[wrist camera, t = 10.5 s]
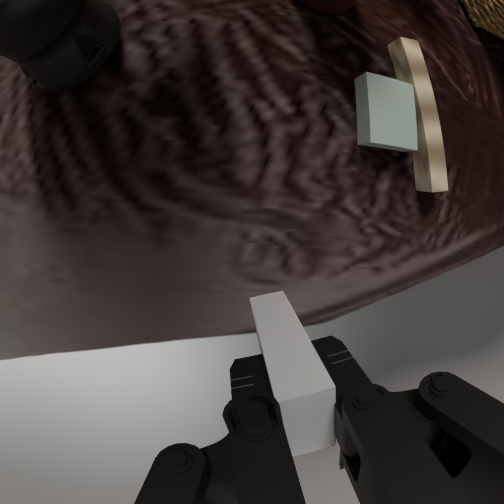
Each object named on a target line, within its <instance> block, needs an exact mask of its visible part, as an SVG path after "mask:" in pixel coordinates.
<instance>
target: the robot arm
mask: <svg viewBox="0 0 504 504" xmlns="http://www.w3.org/2000/svg"><path fill="white" fill-rule="evenodd" d="M120 29H121V24H120V19H119V16H118V14H117V13H116V11H115V10H114V8H113V7H112V6H111V5H110V4H109V3H108V2H106V1H104V0H0V55H2V56H4V57H6V58H8V59H10V60H13V61H15V62H16V63H18V65H19V66H20V68H21V69H22V71H23V72H24V74H25V75H26V77H27V78H28V80H29V81H30V82H31V83H32V84H33V85H34V86H36V87H37V88H40V89H42V90H44V91H47V92H61V91H65V90H68V89H71V88H73V87H75V86H77V85H79V84H80V83H82V82H84V81H85V80H86V79H88V78H89V77H90V76H91V75H93V74H94V73H95V72H96V71H97V70H98V69H99V68H100V67H101V66H102V65H103V64H104V62H105V61H106V60H107V59H108V57H109V56H110V54H111V53H112V51H113V49H114V48H115V46H116V43H117V41H118V38H119V35H120ZM250 303H251V308H252V312H253V317H254V322H255V326H256V331H257V336H258V340H259V344H260V349H261V354H259V355H254V356H250V357H245V358H240V359H235V360H234V362H233V364H232V366H231V368H230V379H231V394H232V400H231V401H229V403H228V404H227V405H226V406H225V408H224V411H223V418H224V420H225V423H226V425H227V428H228V430H229V433H228V435H227V436H226V437H224V438H223V439H222V440H220V441H218V442H217V443H215V444H212V445H209V446H206V447H204V448H201V449H199V448H198V447H196V446H195V445H191V444H187V443H177V444H174V445H171V446H168V447H166V448H165V449H163V450H162V451H161V452H160V453H159V454H158V455H157V457H156V458H155V460H154V462H153V464H152V466H151V469H150V471H149V473H148V475H147V477H146V479H145V481H144V484H143V486H142V488H141V490H140V492H139V494H138V497H137V499H136V501H135V503H134V504H306V503H305V499H304V496H303V493H302V489H301V486H300V482H299V478H298V475H297V471H296V468H295V464H294V461H293V457H294V456H298V455H302V454H306V453H310V452H313V451H317V450H320V449H324V448H327V447H330V446H334V445H335V441H336V439H337V441H338V443H339V445H340V462H339V465H340V469H343V468H344V467H345V469H346V471H347V474H348V476H349V479H350V481H351V483H352V486H353V488H354V490H355V493H356V495H357V497H358V500H359V502H360V504H504V404H503V403H502V402H500V401H499V400H497V399H495V398H493V397H492V396H490V395H488V394H487V393H485V392H483V391H481V390H480V389H478V388H476V387H474V386H473V385H471V384H469V383H468V382H466V381H464V380H462V379H461V378H459V377H457V376H456V375H453V374H451V373H448V372H435V373H431V374H429V375H427V376H426V377H424V378H423V380H422V381H421V382H420V385H419V388H418V389H413V390H407V391H401V392H389V391H388V390H386V389H385V388H384V387H382V386H380V385H377V384H372V383H371V382H370V380H369V378H368V377H367V376H366V374H365V373H364V371H363V370H362V369H361V367H360V366H359V365H358V363H357V362H356V360H355V359H354V358H353V357H352V355H351V354H350V352H349V351H348V350H347V348H346V346H345V345H344V344H343V342H342V341H340V340H338V339H337V338H335V337H333V336H328V337H324V338H320V339H317V340H313V341H310V339H309V337H308V335H307V334H306V332H305V330H304V328H303V326H302V324H301V323H300V321H299V319H298V317H297V315H296V314H295V312H294V310H293V308H292V306H291V305H290V303H289V301H288V299H287V297H286V296H285V294H284V292H283V291H279V292H274V293H270V294H265V295H260V296H256V297H251V298H250Z"/></svg>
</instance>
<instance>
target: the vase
mask: <svg viewBox="0 0 504 504" xmlns="http://www.w3.org/2000/svg"><path fill="white" fill-rule="evenodd" d="M294 1H295V2H296V3H297V4H299V5H300V6H302V7H303V8H305V9H307V10H309V11H311V12H314V13H317V14H321V15H326V16H338V15H342V14H344V13H346V12H347V11H348V10H349V9H350V8H351V7H352V6H353V5H354V4H355V3H356V2H357V1H358V0H294Z"/></svg>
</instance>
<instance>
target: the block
mask: <svg viewBox="0 0 504 504" xmlns="http://www.w3.org/2000/svg"><path fill="white" fill-rule="evenodd" d="M354 81H355V94H356V110H357V134H358V145H362V146H370V147H377V148H384V149H390V150H397V151H402V152H405V151H417V150H418V144H417V123H416V109H415V99H414V89H413V85H412V84H409V83H406V82H402V81H399V80H396V79H392V78H389V77H385V76H381V75H378V74H374V73H370V72H365V73H363V74H362V75H360V76H359V77H357V78H356V79H354Z"/></svg>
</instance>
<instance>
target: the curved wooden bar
mask: <svg viewBox="0 0 504 504" xmlns="http://www.w3.org/2000/svg"><path fill="white" fill-rule="evenodd" d="M387 46H388V50H389V53H390V56H391V59H392V63H393V66H394V69H395V73H396V77H397V80H399V81H402V82H406V83H409V84H412V85H413V89H414V99H415V109H416V123H417V144H418V150H417V151H412V158H413V165H414V174H415V184H416V190H417V191H425V192H440V191H448V183H447V172H446V162H445V154H444V147H443V140H442V134H441V128H440V122H439V117H438V112H437V107H436V103H435V98H434V94H433V90H432V86H431V82H430V79H429V75H428V71H427V68H426V65H425V61H424V58H423V55H422V52H421V49H420V46H419V43H418V41H416V40H412V39H408V38H403V37H399V38H398V39H396V40H395V41H393V42H392V43H390V44H389V45H387Z"/></svg>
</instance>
